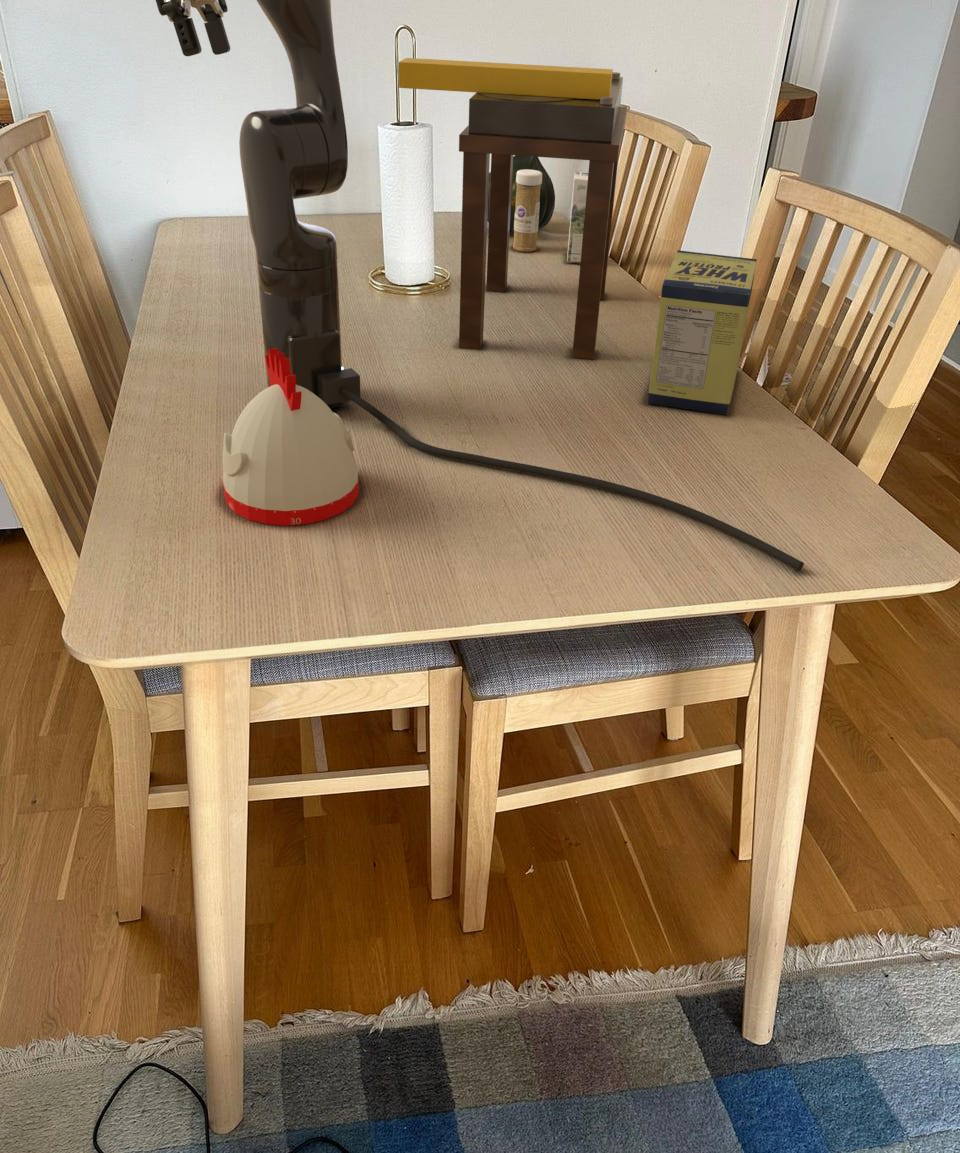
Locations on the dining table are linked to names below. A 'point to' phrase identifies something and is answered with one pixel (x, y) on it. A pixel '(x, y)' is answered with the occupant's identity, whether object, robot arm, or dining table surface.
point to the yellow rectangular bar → (505, 78)
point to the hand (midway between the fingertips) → (208, 54)
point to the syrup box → (577, 217)
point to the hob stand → (504, 133)
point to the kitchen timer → (288, 455)
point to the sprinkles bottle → (527, 210)
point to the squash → (545, 190)
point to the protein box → (700, 331)
